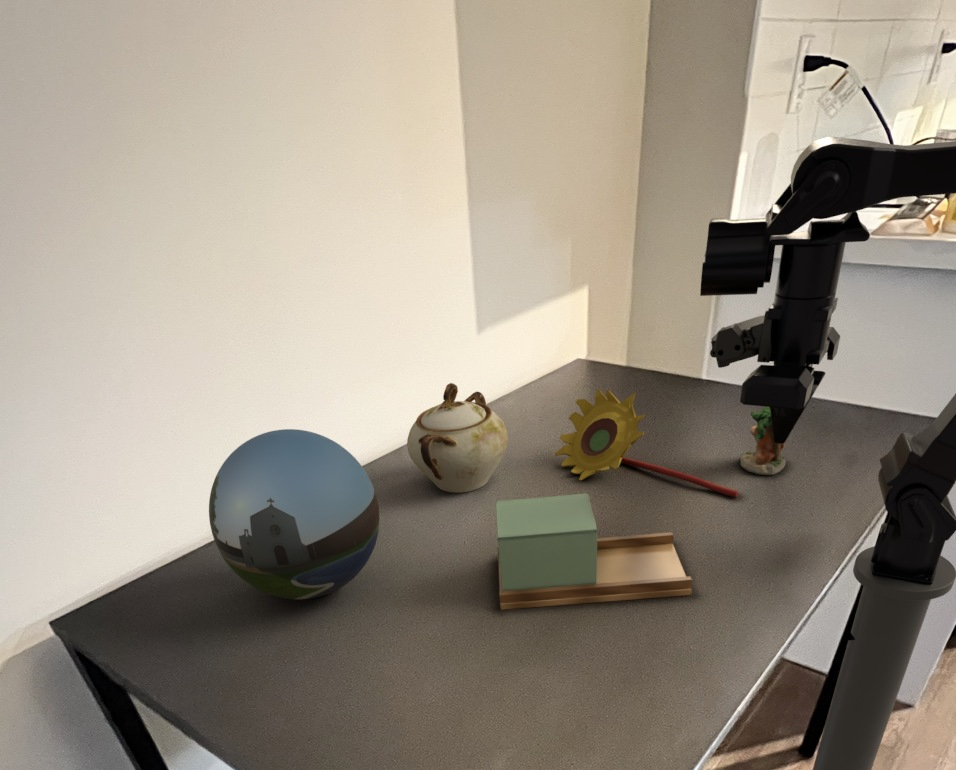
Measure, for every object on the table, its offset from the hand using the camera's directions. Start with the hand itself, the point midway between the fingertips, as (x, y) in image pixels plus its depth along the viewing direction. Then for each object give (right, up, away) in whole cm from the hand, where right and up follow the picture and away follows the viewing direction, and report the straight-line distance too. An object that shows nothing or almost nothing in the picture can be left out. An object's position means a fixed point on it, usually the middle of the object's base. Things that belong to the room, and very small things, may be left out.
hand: (779, 442), depth 85 cm
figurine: (+7, +3, +24) cm, 25 cm away
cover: (-26, -14, +6) cm, 30 cm away
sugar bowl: (-37, +3, +30) cm, 48 cm away
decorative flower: (-10, +3, +26) cm, 28 cm away
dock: (-21, -14, +6) cm, 26 cm away
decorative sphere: (-55, -15, +10) cm, 58 cm away
